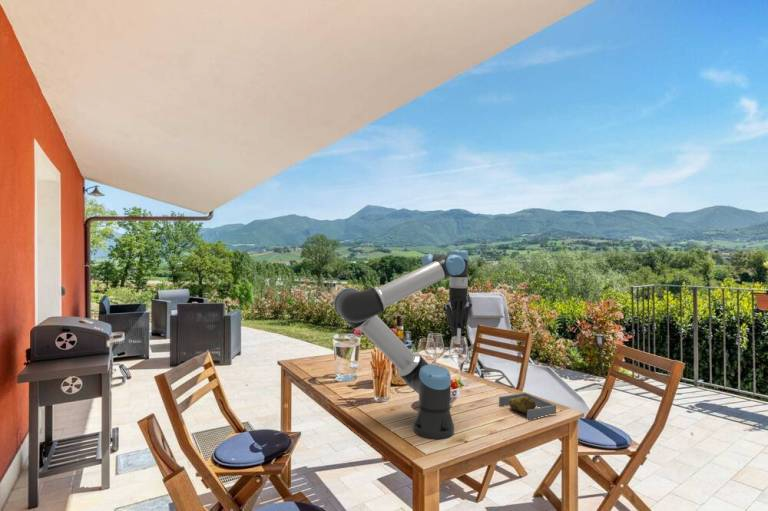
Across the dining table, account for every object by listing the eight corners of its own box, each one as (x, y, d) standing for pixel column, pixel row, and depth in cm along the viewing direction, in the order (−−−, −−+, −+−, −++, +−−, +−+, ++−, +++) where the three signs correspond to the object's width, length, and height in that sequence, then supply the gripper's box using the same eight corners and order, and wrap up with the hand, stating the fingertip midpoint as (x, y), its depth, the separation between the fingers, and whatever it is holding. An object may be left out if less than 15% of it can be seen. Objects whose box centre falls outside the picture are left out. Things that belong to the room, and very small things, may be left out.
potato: (525, 407, 188) (525, 389, 188) (538, 418, 175) (538, 399, 175) (506, 407, 187) (507, 389, 187) (518, 419, 174) (519, 399, 174)
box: (528, 420, 173) (528, 410, 173) (498, 405, 189) (499, 396, 189) (555, 414, 180) (556, 405, 180) (525, 401, 196) (525, 392, 196)
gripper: (450, 288, 172) (449, 346, 172) (476, 287, 177) (475, 344, 177) (440, 286, 178) (438, 343, 178) (465, 286, 184) (464, 340, 184)
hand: (457, 343), depth 178 cm, fingers closed
